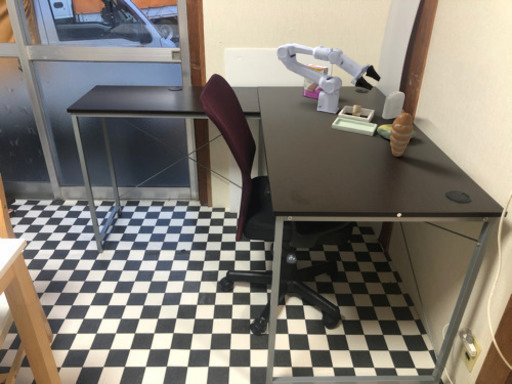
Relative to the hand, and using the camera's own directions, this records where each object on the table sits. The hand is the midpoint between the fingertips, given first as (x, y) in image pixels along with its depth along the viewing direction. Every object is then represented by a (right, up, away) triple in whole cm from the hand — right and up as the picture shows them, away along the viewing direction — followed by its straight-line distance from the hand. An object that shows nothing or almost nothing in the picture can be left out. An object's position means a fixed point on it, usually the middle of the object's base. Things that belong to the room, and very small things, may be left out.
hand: (375, 84), depth 185 cm
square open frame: (-7, -14, +8) cm, 18 cm away
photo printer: (+11, -13, +11) cm, 20 cm away
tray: (-11, -20, -3) cm, 23 cm away
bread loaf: (-7, -14, +8) cm, 18 cm away
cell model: (+5, -26, -10) cm, 28 cm away
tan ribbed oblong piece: (0, -35, -26) cm, 44 cm away
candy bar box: (-23, +2, +34) cm, 41 cm away
